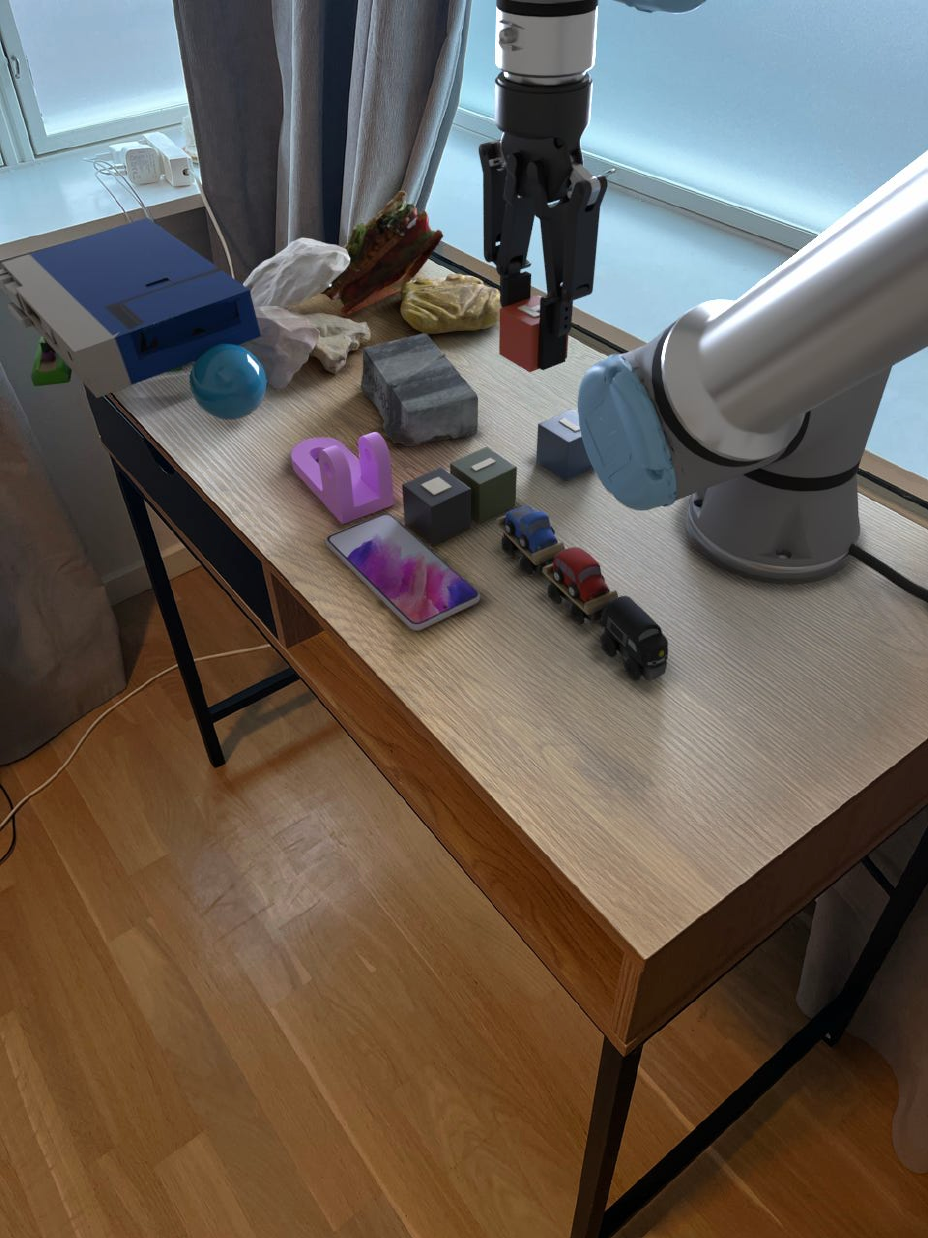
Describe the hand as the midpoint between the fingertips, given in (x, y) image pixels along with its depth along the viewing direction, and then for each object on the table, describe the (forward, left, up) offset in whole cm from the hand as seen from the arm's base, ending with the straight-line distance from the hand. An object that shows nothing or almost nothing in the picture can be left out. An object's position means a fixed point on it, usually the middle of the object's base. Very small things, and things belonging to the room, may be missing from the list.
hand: (533, 353), depth 89 cm
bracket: (+10, +17, -13) cm, 23 cm away
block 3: (-2, -3, -12) cm, 13 cm away
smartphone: (-6, +20, -12) cm, 24 cm away
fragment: (+43, 0, -9) cm, 44 cm away
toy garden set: (+51, +19, -13) cm, 56 cm away
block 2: (-2, +8, -12) cm, 15 cm away
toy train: (-18, +11, -13) cm, 25 cm away
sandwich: (+38, -12, -9) cm, 41 cm away
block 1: (-2, +13, -12) cm, 18 cm away
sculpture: (+25, -12, -10) cm, 30 cm away
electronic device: (+29, +23, -3) cm, 37 cm away
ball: (+29, +22, -10) cm, 38 cm away
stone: (+34, +2, -12) cm, 36 cm away
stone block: (+16, +3, -13) cm, 20 cm away
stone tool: (+28, +8, -9) cm, 31 cm away
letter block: (0, 0, 0) cm, 0 cm away
